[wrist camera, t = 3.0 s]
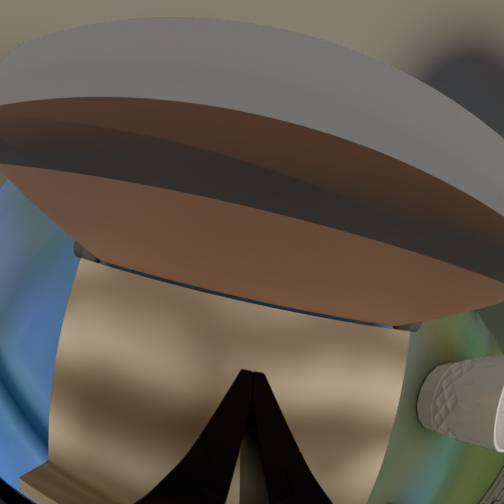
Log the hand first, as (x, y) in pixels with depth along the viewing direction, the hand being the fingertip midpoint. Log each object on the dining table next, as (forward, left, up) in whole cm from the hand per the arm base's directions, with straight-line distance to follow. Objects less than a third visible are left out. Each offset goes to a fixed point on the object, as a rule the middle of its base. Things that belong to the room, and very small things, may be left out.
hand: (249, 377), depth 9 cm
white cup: (-14, -14, -10) cm, 23 cm away
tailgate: (+3, -3, -6) cm, 7 cm away
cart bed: (-3, +3, -10) cm, 11 cm away
